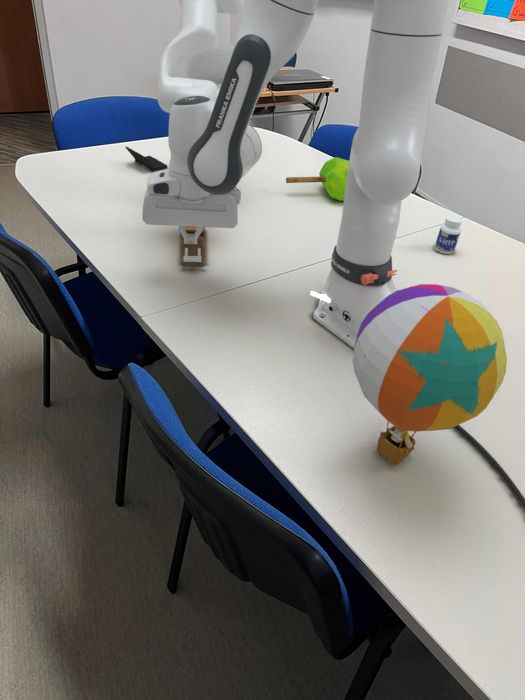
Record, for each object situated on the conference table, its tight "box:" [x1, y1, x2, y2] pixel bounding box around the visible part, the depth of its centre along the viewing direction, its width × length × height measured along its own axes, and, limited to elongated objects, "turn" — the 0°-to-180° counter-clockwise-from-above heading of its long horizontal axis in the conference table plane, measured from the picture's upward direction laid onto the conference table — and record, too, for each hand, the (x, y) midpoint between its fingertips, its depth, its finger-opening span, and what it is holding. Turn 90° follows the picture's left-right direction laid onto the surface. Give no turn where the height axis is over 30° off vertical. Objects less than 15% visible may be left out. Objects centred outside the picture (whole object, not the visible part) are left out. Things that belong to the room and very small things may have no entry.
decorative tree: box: [285, 156, 350, 202], centre depth 161 cm, size 18×10×30 cm
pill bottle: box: [434, 215, 463, 255], centre depth 137 cm, size 5×5×9 cm
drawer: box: [182, 232, 204, 268], centre depth 124 cm, size 22×5×7 cm, turn 5°
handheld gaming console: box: [125, 146, 168, 172], centre depth 171 cm, size 12×7×10 cm
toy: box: [352, 283, 508, 467], centre depth 73 cm, size 20×20×30 cm
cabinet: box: [179, 226, 207, 266], centre depth 128 cm, size 18×6×9 cm, turn 5°
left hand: (193, 218), depth 131 cm, fingers closed on cabinet, 5 cm apart
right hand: (190, 242), depth 115 cm, fingers closed
